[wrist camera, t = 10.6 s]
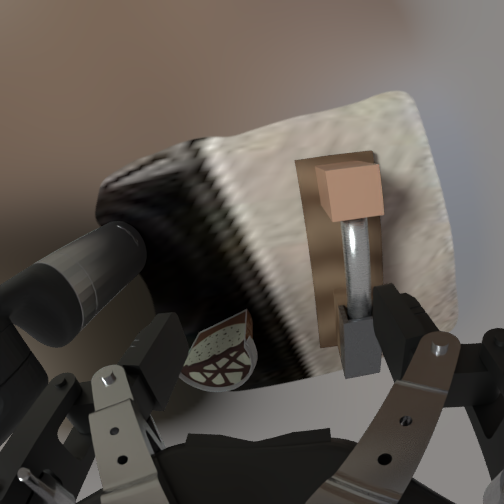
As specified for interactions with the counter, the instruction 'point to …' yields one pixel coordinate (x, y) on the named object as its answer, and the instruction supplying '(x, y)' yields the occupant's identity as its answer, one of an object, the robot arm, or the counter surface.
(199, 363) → the food container
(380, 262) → the dock
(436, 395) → the robot arm
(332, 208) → the socket
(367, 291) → the tube
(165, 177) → the counter surface
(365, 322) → the sleeve
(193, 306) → the counter surface
